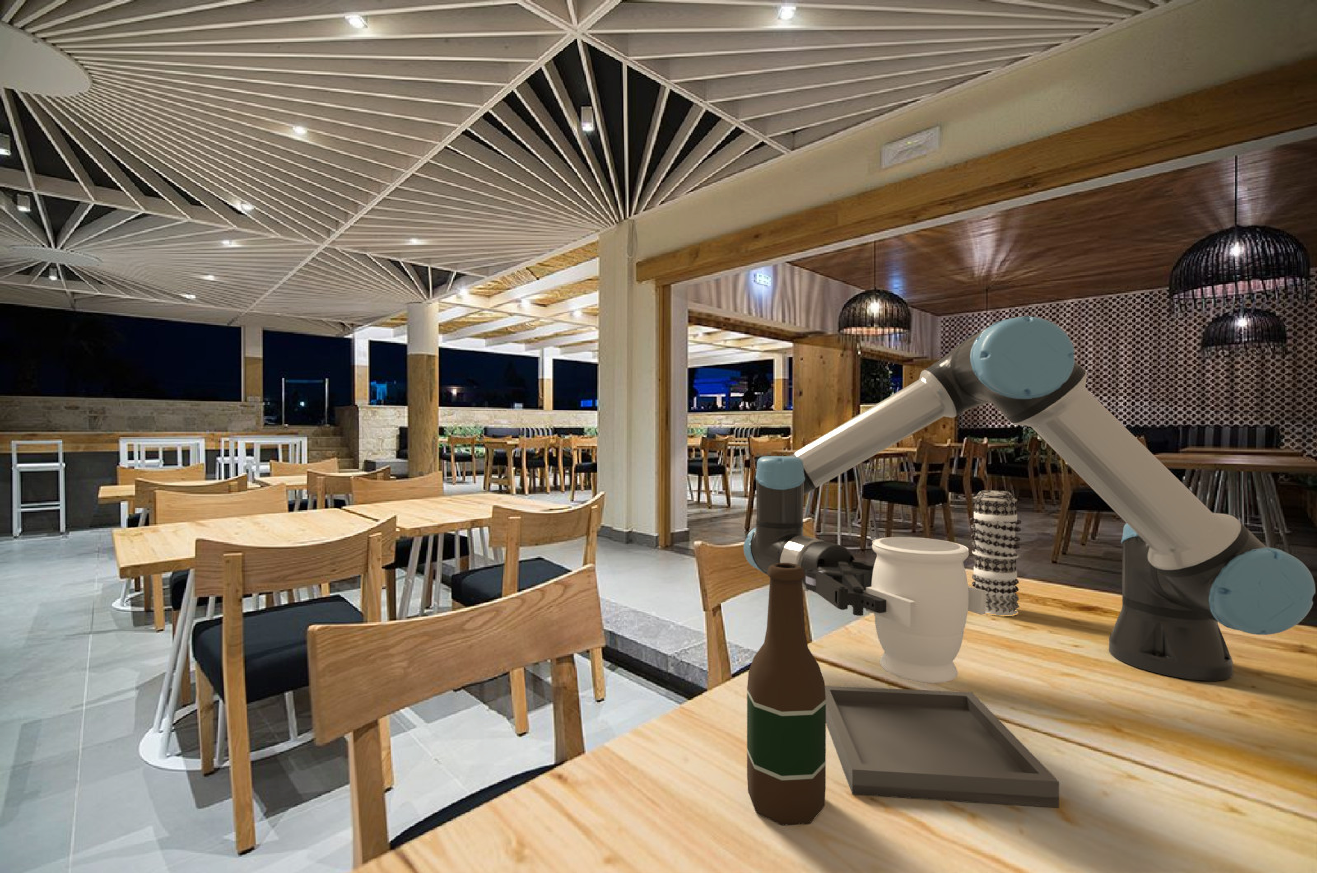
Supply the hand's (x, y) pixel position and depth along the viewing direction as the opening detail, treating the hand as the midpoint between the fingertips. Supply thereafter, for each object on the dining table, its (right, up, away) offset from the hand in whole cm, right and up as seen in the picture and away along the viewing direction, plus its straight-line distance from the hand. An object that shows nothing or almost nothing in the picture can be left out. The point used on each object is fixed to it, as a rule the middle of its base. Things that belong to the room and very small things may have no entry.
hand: (949, 608), depth 65 cm
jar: (-2, -9, +4) cm, 10 cm away
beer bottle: (-20, -18, -6) cm, 27 cm away
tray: (-2, -18, +4) cm, 18 cm away
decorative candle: (+38, -18, +57) cm, 71 cm away
